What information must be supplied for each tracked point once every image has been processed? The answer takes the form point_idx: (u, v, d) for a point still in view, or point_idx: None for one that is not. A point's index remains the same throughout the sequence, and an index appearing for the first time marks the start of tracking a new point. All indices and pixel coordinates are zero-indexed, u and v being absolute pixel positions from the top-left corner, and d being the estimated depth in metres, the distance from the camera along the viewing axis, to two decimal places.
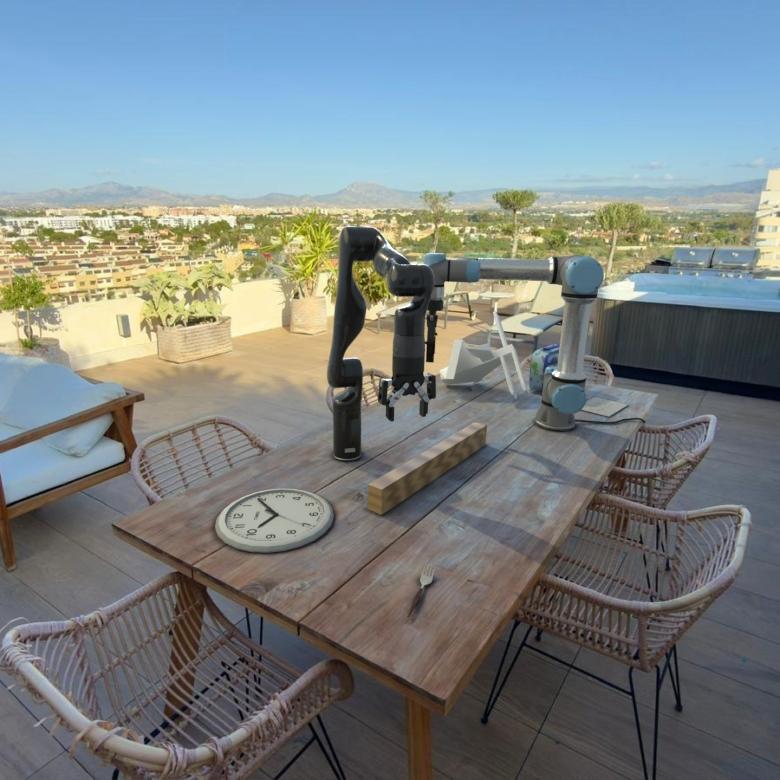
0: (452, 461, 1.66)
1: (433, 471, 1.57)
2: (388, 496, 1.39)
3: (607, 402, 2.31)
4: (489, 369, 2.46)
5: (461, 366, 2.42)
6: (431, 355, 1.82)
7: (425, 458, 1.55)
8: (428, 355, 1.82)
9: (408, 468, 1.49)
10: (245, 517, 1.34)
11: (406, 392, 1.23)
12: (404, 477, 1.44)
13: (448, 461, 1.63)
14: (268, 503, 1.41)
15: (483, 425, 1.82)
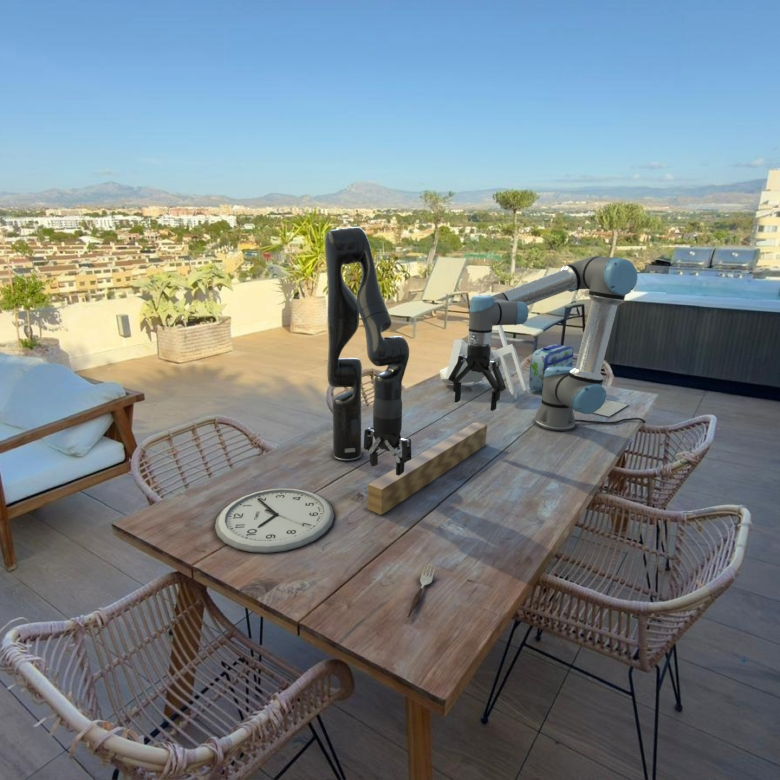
0: (452, 461, 1.66)
1: (433, 471, 1.57)
2: (388, 496, 1.39)
3: (607, 402, 2.31)
4: None
5: None
6: (495, 402, 1.72)
7: (425, 458, 1.55)
8: (494, 403, 1.72)
9: (408, 468, 1.49)
10: (245, 517, 1.34)
11: None
12: (404, 477, 1.44)
13: (448, 461, 1.63)
14: (268, 503, 1.41)
15: (483, 425, 1.82)
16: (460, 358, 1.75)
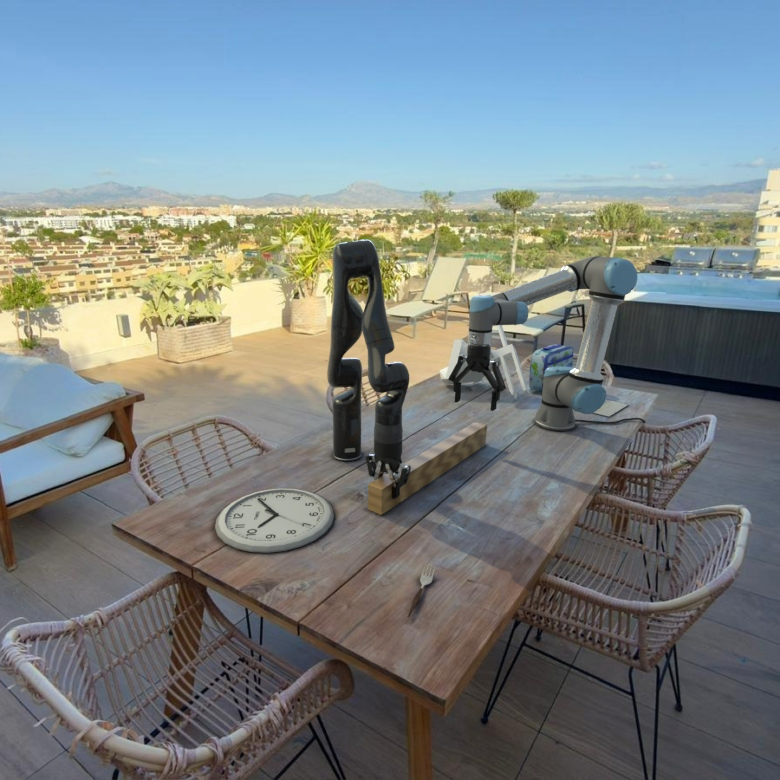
0: (452, 461, 1.66)
1: (433, 471, 1.57)
2: (388, 496, 1.39)
3: (607, 402, 2.31)
4: None
5: None
6: (495, 402, 1.72)
7: (425, 458, 1.55)
8: (494, 403, 1.72)
9: None
10: (245, 517, 1.34)
11: None
12: None
13: (448, 461, 1.63)
14: (268, 503, 1.41)
15: (483, 425, 1.82)
16: (460, 358, 1.75)
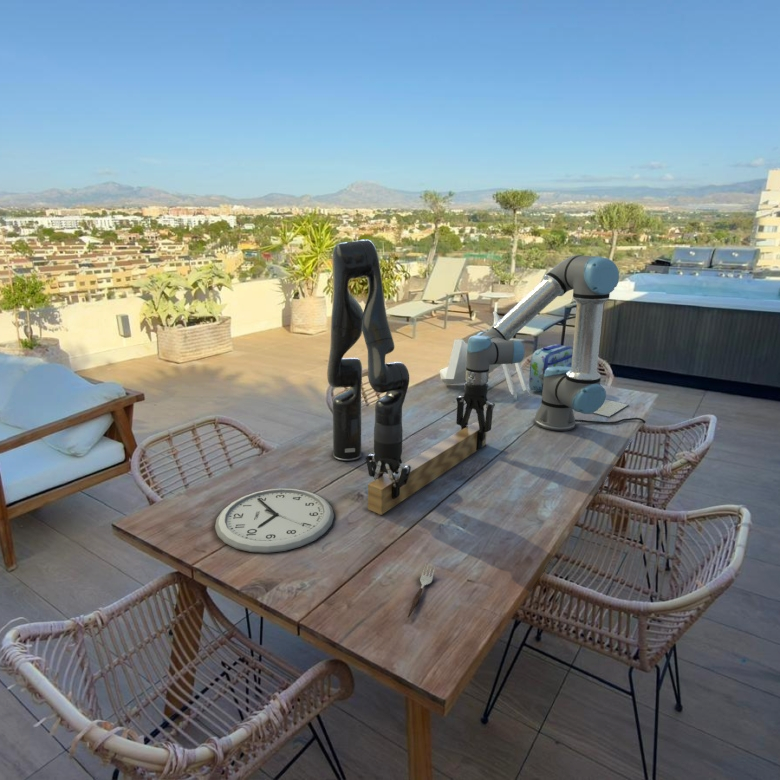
0: (452, 460, 1.66)
1: (433, 471, 1.57)
2: (388, 496, 1.39)
3: (607, 402, 2.31)
4: (489, 369, 2.46)
5: (461, 366, 2.42)
6: (481, 441, 1.79)
7: (424, 458, 1.55)
8: (479, 442, 1.78)
9: None
10: (245, 517, 1.34)
11: None
12: None
13: (448, 461, 1.63)
14: (268, 503, 1.41)
15: None
16: (458, 399, 1.79)
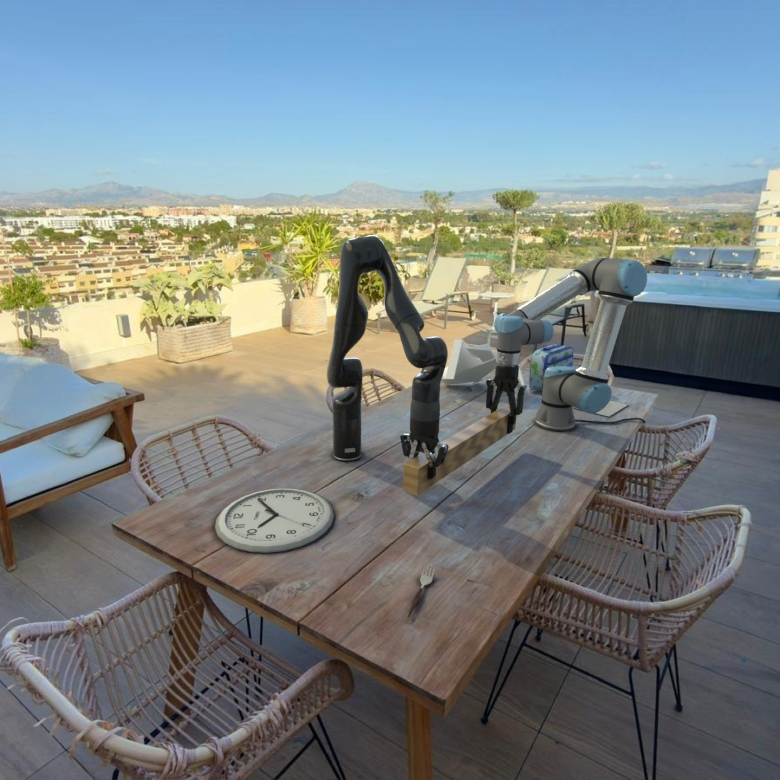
0: (484, 443, 1.61)
1: (466, 453, 1.52)
2: (424, 476, 1.35)
3: None
4: (489, 369, 2.46)
5: (461, 366, 2.42)
6: (511, 425, 1.74)
7: (458, 439, 1.50)
8: (510, 426, 1.74)
9: None
10: (245, 517, 1.34)
11: None
12: None
13: (480, 443, 1.59)
14: (268, 503, 1.41)
15: None
16: (488, 382, 1.74)
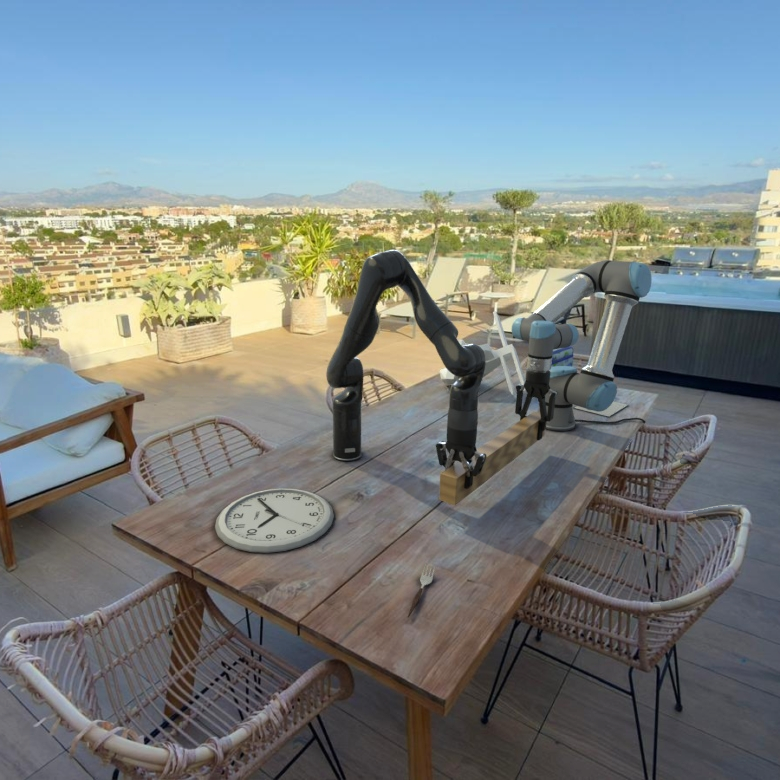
0: (516, 451, 1.59)
1: (500, 460, 1.50)
2: (461, 486, 1.33)
3: None
4: (489, 369, 2.46)
5: None
6: (541, 431, 1.72)
7: (492, 447, 1.48)
8: (540, 432, 1.72)
9: None
10: (245, 517, 1.34)
11: None
12: None
13: (512, 451, 1.57)
14: (268, 503, 1.41)
15: None
16: (518, 387, 1.72)
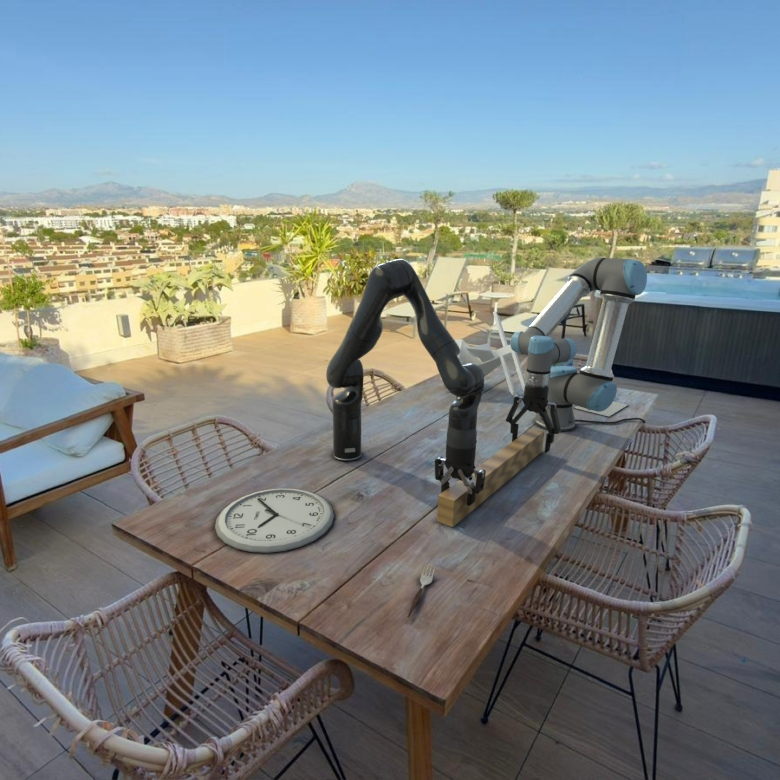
0: (513, 469, 1.61)
1: (497, 480, 1.52)
2: (459, 508, 1.34)
3: None
4: (489, 369, 2.46)
5: None
6: (549, 444, 1.72)
7: (489, 467, 1.50)
8: (548, 445, 1.71)
9: None
10: (245, 517, 1.34)
11: None
12: None
13: (510, 469, 1.58)
14: (268, 503, 1.41)
15: (540, 432, 1.76)
16: (516, 399, 1.73)
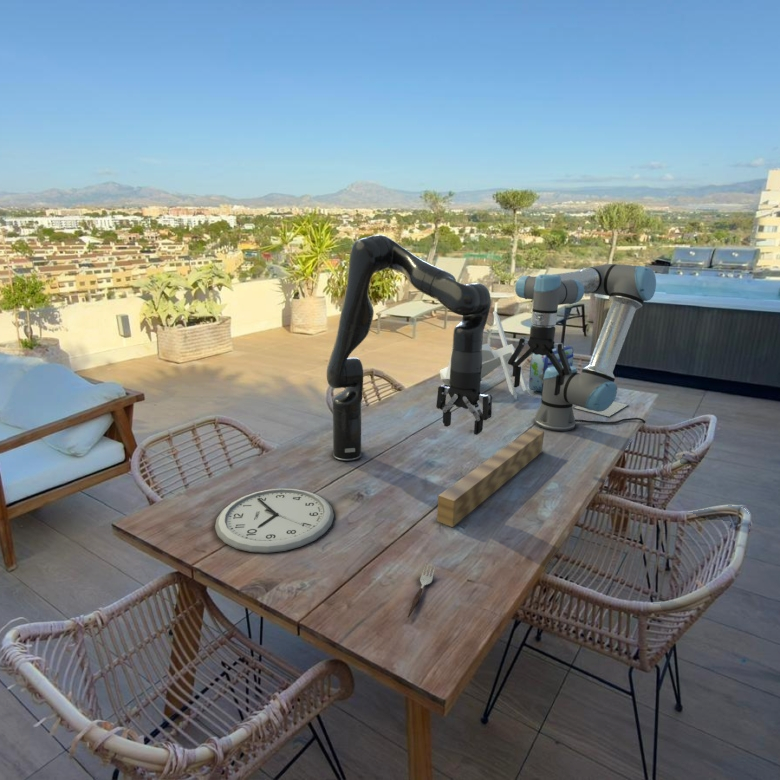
0: (513, 469, 1.61)
1: (497, 480, 1.52)
2: (459, 508, 1.34)
3: None
4: (489, 369, 2.46)
5: None
6: (559, 386, 1.65)
7: (489, 467, 1.50)
8: (558, 387, 1.64)
9: (475, 477, 1.43)
10: (245, 517, 1.34)
11: None
12: (473, 488, 1.39)
13: (510, 469, 1.58)
14: (268, 503, 1.41)
15: (540, 432, 1.76)
16: (522, 341, 1.67)
